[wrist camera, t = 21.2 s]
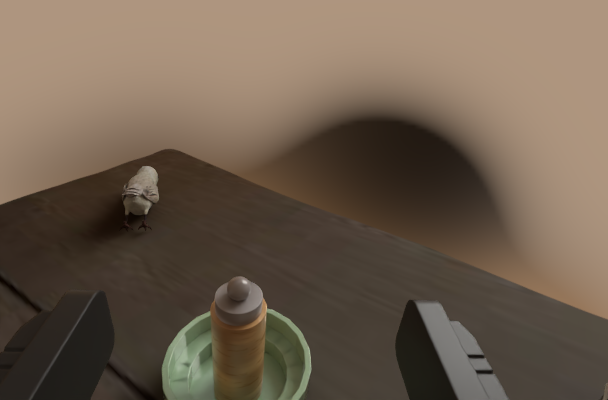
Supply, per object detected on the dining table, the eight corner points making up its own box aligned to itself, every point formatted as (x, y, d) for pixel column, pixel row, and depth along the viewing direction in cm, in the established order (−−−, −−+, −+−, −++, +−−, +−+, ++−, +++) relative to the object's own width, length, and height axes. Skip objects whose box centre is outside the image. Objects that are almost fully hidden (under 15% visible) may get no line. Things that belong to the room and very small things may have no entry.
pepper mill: (263, 365, 39) (269, 261, 32) (261, 410, 35) (267, 301, 28) (217, 365, 39) (213, 259, 32) (210, 410, 34) (204, 300, 28)
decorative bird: (166, 188, 72) (162, 153, 69) (153, 235, 59) (147, 194, 55) (137, 188, 71) (132, 152, 68) (117, 236, 58) (109, 194, 54)
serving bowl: (302, 336, 44) (306, 306, 42) (310, 465, 32) (316, 433, 30) (184, 334, 43) (181, 303, 40) (147, 467, 31) (140, 434, 28)
